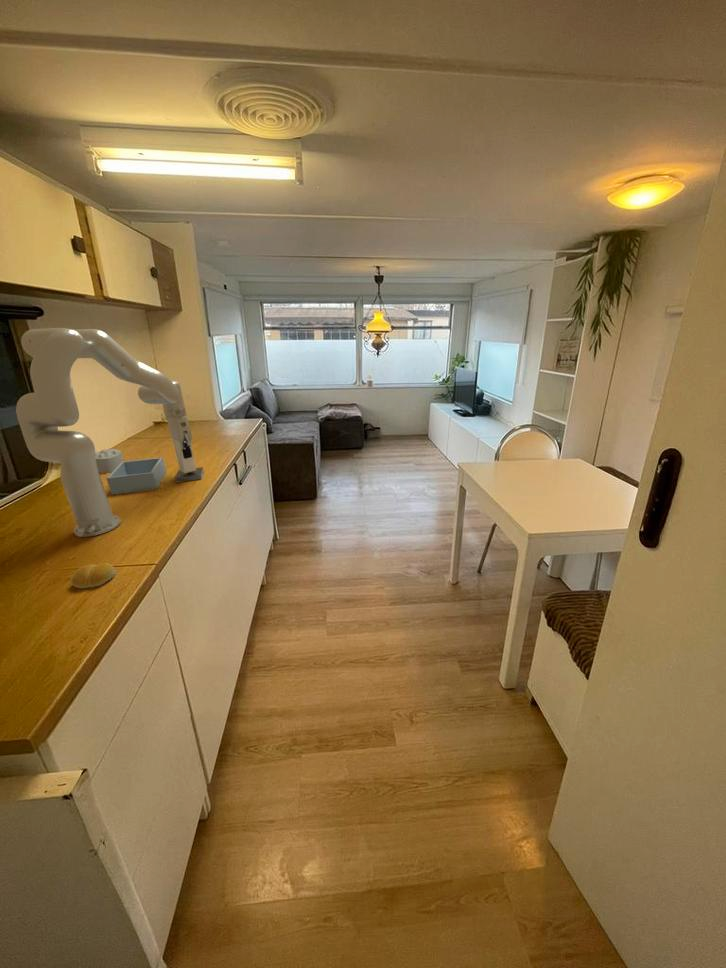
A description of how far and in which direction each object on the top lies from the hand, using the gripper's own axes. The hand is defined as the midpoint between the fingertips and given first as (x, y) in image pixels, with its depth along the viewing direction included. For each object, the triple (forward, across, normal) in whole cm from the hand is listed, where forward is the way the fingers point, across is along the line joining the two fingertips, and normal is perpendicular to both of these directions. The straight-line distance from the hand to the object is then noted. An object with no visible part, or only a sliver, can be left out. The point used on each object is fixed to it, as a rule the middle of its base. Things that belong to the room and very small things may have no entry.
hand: (185, 456), depth 156 cm
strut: (+6, 0, 0) cm, 6 cm away
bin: (+9, +10, +16) cm, 21 cm away
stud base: (+9, 0, 0) cm, 9 cm away
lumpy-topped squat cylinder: (+10, +40, +17) cm, 45 cm away
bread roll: (+10, -50, +49) cm, 71 cm away
